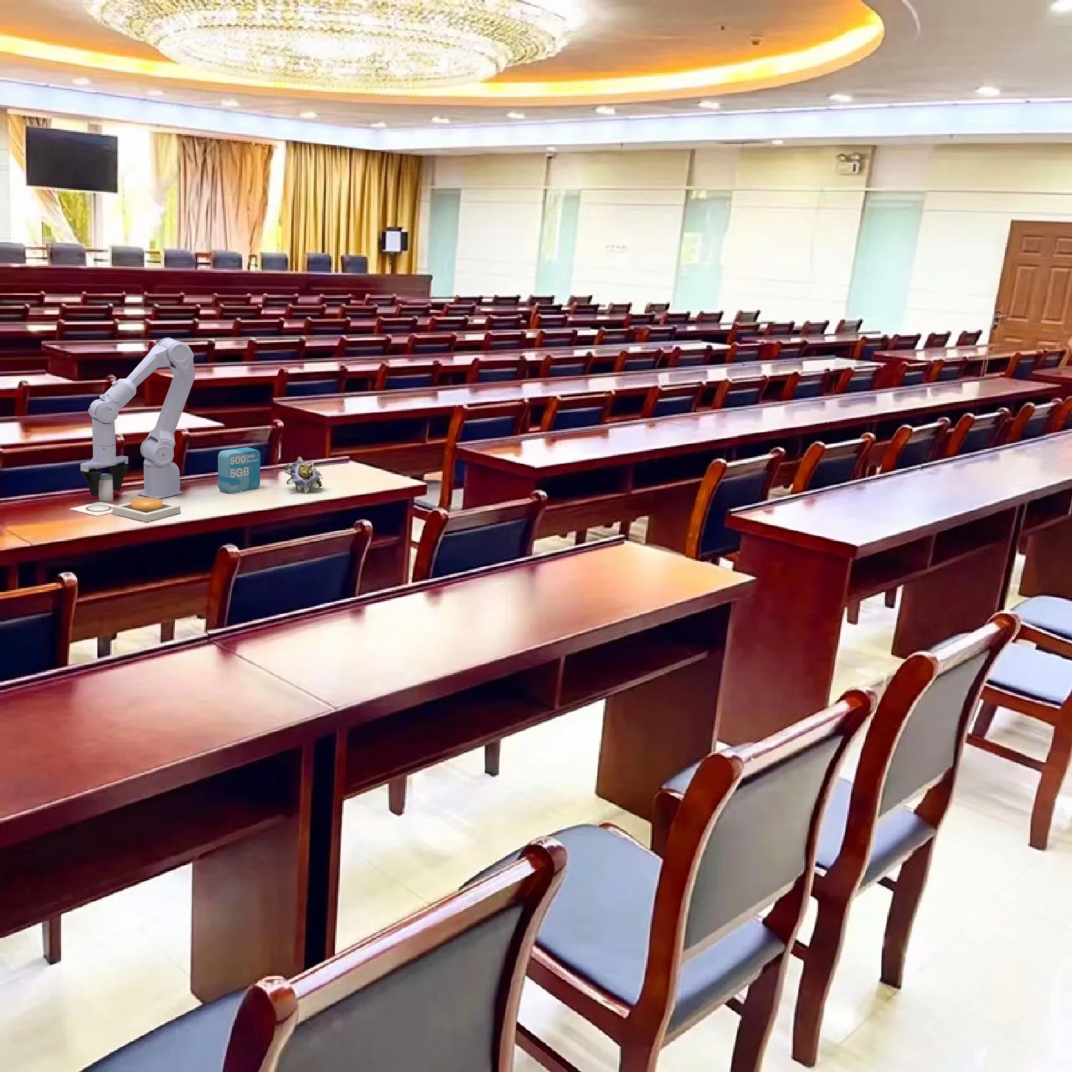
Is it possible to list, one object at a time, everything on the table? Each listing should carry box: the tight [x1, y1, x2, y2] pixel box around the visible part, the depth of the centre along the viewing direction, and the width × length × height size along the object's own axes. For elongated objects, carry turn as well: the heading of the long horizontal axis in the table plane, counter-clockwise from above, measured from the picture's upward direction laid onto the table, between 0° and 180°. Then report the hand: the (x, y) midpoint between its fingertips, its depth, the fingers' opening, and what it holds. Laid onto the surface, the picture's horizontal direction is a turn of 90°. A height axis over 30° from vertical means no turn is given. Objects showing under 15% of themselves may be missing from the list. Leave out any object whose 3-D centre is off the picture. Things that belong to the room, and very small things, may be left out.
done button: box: [129, 497, 164, 511], centre depth 275 cm, size 8×8×2 cm
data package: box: [217, 447, 261, 494], centre depth 306 cm, size 12×4×12 cm, turn 145°
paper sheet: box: [69, 501, 117, 517], centre depth 276 cm, size 10×10×1 cm
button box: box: [111, 501, 181, 523], centre depth 276 cm, size 12×12×2 cm
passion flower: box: [283, 456, 324, 493], centre depth 313 cm, size 11×11×12 cm
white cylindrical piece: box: [98, 473, 114, 502], centre depth 285 cm, size 4×4×7 cm
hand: (105, 492), depth 285 cm, fingers open, 7 cm apart
